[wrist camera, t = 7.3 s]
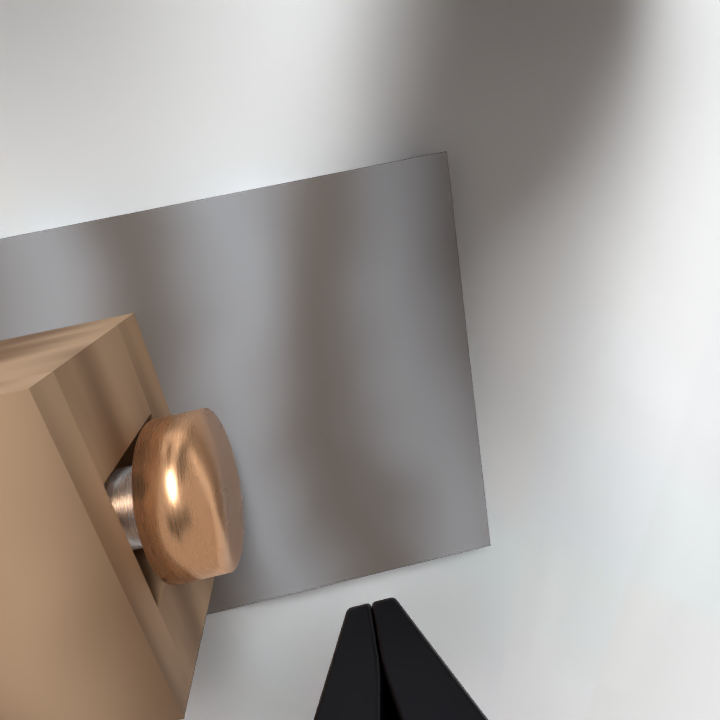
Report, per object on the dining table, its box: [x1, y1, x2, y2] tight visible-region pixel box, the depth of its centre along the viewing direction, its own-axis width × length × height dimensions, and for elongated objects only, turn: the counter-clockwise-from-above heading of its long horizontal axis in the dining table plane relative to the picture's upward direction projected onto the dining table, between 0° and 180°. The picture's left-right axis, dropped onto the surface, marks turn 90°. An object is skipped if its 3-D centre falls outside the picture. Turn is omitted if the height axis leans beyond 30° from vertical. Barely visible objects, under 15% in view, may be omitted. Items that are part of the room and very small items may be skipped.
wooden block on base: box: [0, 151, 490, 720], centre depth 15 cm, size 23×16×8 cm
